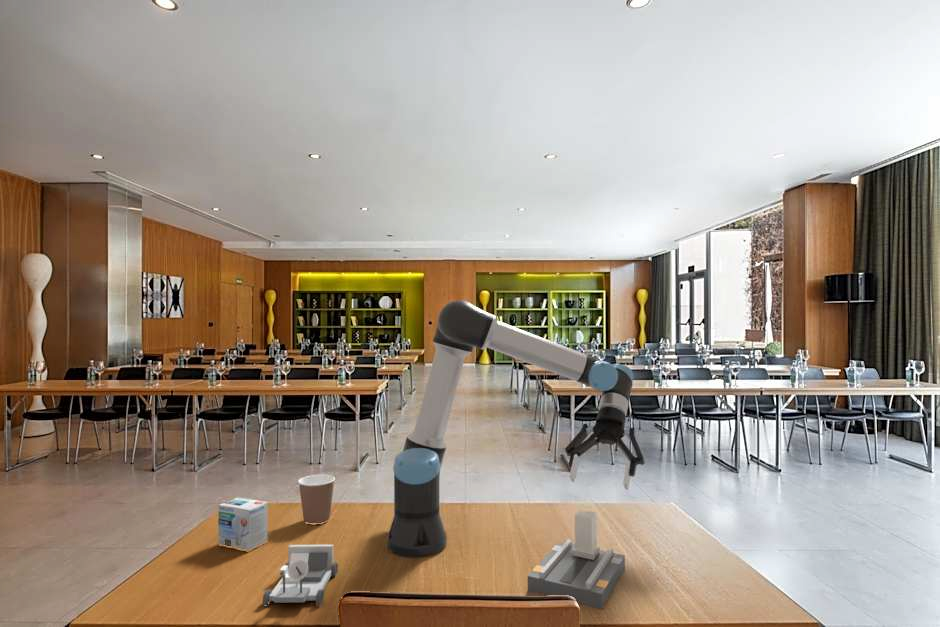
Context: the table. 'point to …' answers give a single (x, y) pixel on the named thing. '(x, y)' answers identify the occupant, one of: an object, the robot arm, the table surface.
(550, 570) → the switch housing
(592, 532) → the switch slider
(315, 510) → the coffee cup
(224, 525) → the light bulb box
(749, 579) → the table surface
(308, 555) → the toy car
